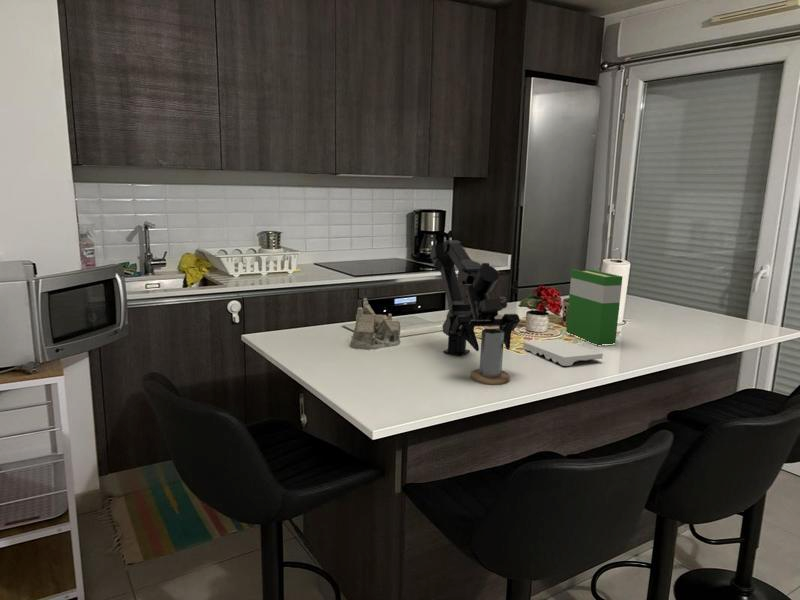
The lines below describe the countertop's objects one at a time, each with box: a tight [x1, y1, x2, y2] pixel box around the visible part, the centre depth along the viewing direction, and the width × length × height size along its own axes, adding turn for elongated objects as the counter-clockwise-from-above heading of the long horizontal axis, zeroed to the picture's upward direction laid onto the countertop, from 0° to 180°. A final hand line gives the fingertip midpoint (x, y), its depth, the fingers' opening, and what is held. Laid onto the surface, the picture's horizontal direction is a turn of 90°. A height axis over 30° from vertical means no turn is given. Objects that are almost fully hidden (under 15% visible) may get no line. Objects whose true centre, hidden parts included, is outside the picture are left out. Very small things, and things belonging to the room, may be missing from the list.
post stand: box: [469, 368, 511, 386], centre depth 164 cm, size 11×11×5 cm
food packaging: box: [522, 338, 604, 367], centre depth 188 cm, size 15×3×20 cm
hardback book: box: [565, 268, 623, 345], centre depth 209 cm, size 18×7×24 cm, turn 21°
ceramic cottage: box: [349, 297, 401, 350], centre depth 195 cm, size 16×16×15 cm
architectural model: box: [482, 314, 500, 330], centre depth 211 cm, size 3×7×7 cm, turn 121°
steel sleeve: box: [479, 328, 504, 378], centre depth 163 cm, size 6×6×12 cm
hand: (493, 349), depth 162 cm, fingers open, 9 cm apart
